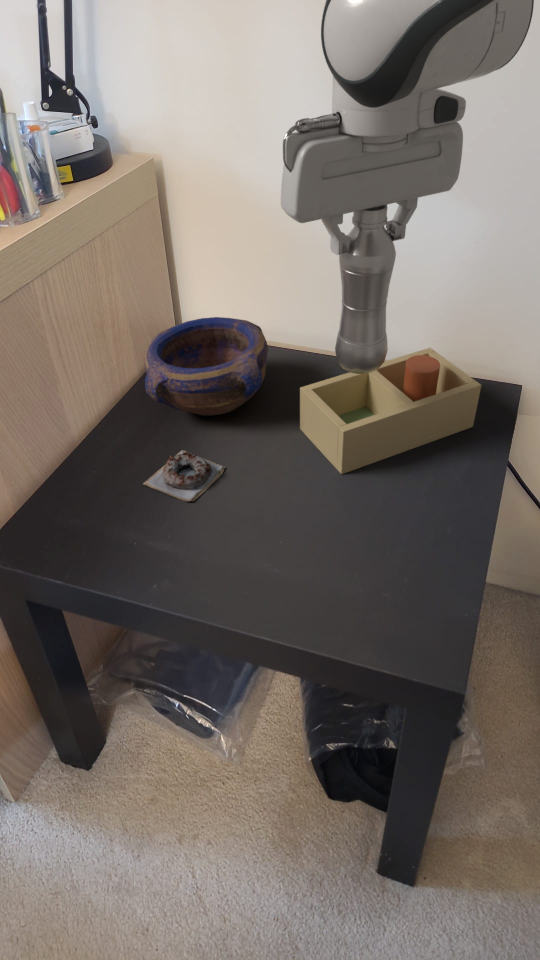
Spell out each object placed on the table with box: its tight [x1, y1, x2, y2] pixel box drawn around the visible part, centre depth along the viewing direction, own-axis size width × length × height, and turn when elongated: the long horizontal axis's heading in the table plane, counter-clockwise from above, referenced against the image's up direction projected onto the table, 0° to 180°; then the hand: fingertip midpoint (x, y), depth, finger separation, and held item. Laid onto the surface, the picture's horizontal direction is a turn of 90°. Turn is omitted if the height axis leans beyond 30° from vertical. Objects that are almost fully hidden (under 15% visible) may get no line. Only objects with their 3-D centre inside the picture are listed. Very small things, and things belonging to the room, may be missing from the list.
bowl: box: [143, 316, 269, 417], centre depth 100 cm, size 18×18×10 cm
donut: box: [142, 449, 226, 503], centre depth 89 cm, size 8×8×2 cm
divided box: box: [299, 347, 482, 475], centre depth 95 cm, size 11×22×7 cm, turn 117°
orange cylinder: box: [403, 355, 440, 402], centre depth 95 cm, size 5×5×8 cm
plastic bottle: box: [334, 204, 397, 374], centre depth 80 cm, size 6×7×20 cm
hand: (368, 245), depth 76 cm, fingers closed on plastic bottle, 6 cm apart
